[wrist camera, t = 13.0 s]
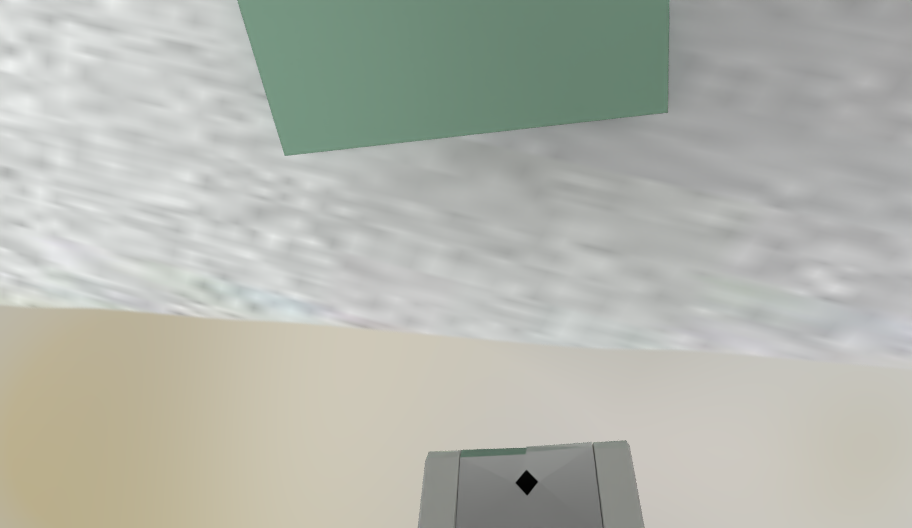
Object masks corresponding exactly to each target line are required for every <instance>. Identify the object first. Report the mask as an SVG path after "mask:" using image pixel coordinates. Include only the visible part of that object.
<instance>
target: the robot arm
mask: <svg viewBox="0 0 912 528" xmlns="http://www.w3.org/2000/svg"><path fill="white" fill-rule="evenodd" d="M418 528H645V527H644V522H643V517H642V511H641V506H640V500H639V495H638V489H637V484H636V478H635V473H634V468H633V462H632V456H631V451H630V446H629V444H628V443H627V441H626V440H625V441H609V442H594V443H593V445H592V442H587V443H573V444H559V445H545V446H531V447H526V448H506V449H477V450H458V451H435V452H429V453H428V456H427V458H426V461H425V468H424V477H423V487H422V496H421V504H420V513H419V521H418Z"/></svg>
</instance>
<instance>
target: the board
mask: <svg viewBox="0 0 912 528" xmlns="http://www.w3.org/2000/svg"><path fill="white" fill-rule="evenodd" d="M237 1H238V4H239V7H240V11H241V14H242V17H243V20H244V24H245V27H246V30H247V33H248V37H249V40H250V43H251V47H252V50H253V53H254V56H255V60H256V63H257V66H258V70H259V73H260V76H261V79H262V83H263V86H264V89H265V93H266V96H267V99H268V102H269V106H270V109H271V112H272V115H273V119H274V122H275V125H276V129H277V132H278V135H279V138H280V142H281V145H282V148H283V152H284V155H285V156H288V155H297V154H306V153H315V152H323V151H332V150H341V149H350V148H359V147H368V146H376V145H385V144H394V143H403V142H412V141H421V140H429V139H438V138H447V137H456V136H465V135H474V134H483V133H491V132H500V131H509V130H518V129H527V128H536V127H544V126H553V125H562V124H571V123H580V122H589V121H597V120H606V119H615V118H624V117H633V116H642V115H650V114H659V113H668V54H669V0H237Z"/></svg>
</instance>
